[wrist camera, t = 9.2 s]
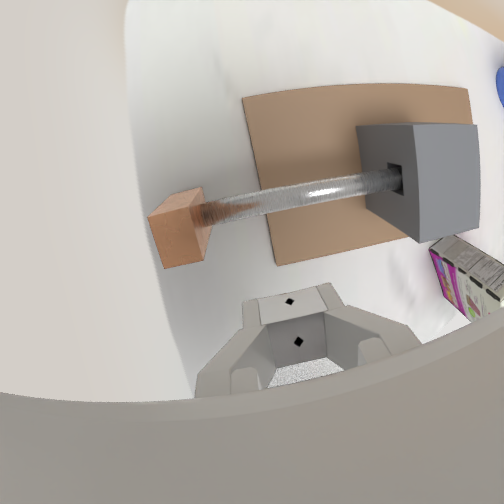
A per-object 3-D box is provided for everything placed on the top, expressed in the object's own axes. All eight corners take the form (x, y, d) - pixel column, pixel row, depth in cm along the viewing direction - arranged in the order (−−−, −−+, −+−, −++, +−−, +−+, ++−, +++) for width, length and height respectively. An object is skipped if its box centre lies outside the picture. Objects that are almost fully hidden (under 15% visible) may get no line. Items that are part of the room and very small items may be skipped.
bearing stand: (471, 218, 35) (529, 249, 23) (276, 263, 36) (294, 325, 24) (463, 89, 28) (528, 87, 16) (242, 99, 29) (245, 74, 17)
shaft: (412, 187, 27) (458, 206, 20) (182, 233, 28) (164, 268, 21) (409, 151, 26) (457, 160, 18) (171, 194, 26) (147, 217, 19)
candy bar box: (463, 280, 40) (523, 332, 24) (443, 297, 40) (500, 356, 25) (449, 228, 36) (525, 276, 21) (427, 247, 37) (500, 304, 22)
